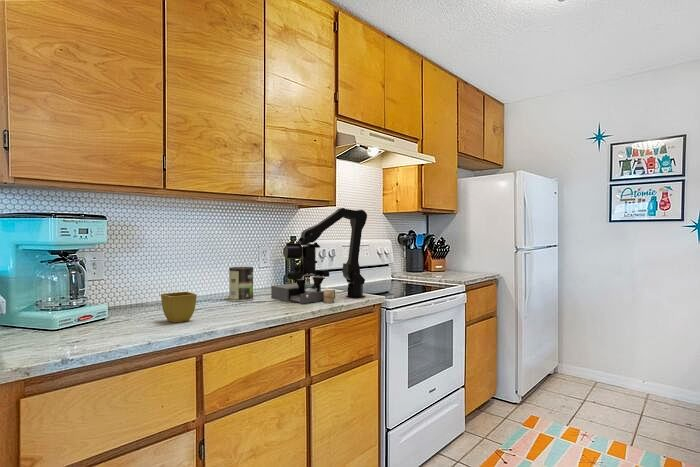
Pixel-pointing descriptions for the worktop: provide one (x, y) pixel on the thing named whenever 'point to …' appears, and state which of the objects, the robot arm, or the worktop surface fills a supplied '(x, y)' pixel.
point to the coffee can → (240, 284)
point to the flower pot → (178, 306)
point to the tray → (309, 297)
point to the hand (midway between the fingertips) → (308, 294)
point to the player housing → (286, 291)
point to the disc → (310, 288)
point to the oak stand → (328, 296)
